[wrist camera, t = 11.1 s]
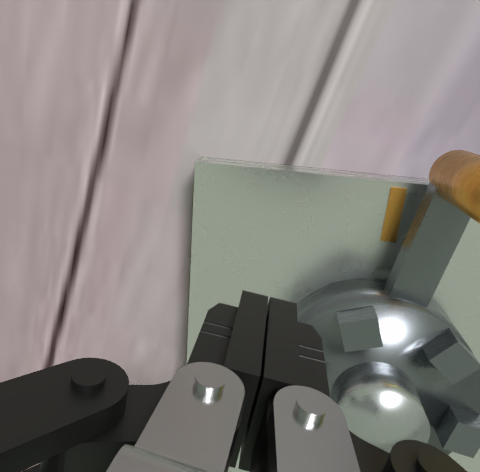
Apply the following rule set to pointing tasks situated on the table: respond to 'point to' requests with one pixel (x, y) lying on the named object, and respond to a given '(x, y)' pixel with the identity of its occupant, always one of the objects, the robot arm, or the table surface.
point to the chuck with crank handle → (407, 330)
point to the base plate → (313, 240)
